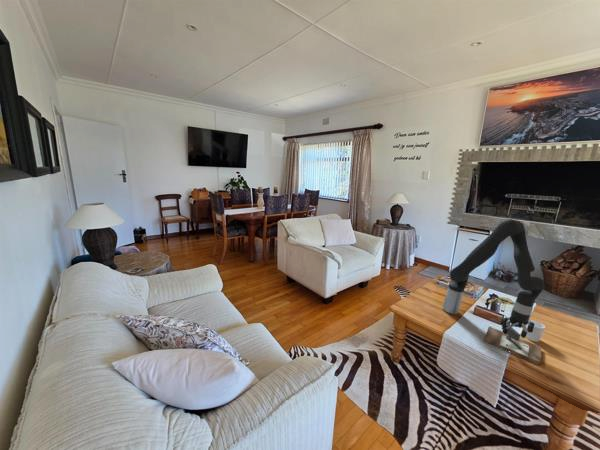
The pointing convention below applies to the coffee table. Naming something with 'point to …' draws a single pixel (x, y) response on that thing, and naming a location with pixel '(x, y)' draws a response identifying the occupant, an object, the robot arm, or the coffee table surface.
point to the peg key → (512, 336)
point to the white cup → (535, 331)
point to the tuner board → (514, 346)
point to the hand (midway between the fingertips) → (513, 335)
